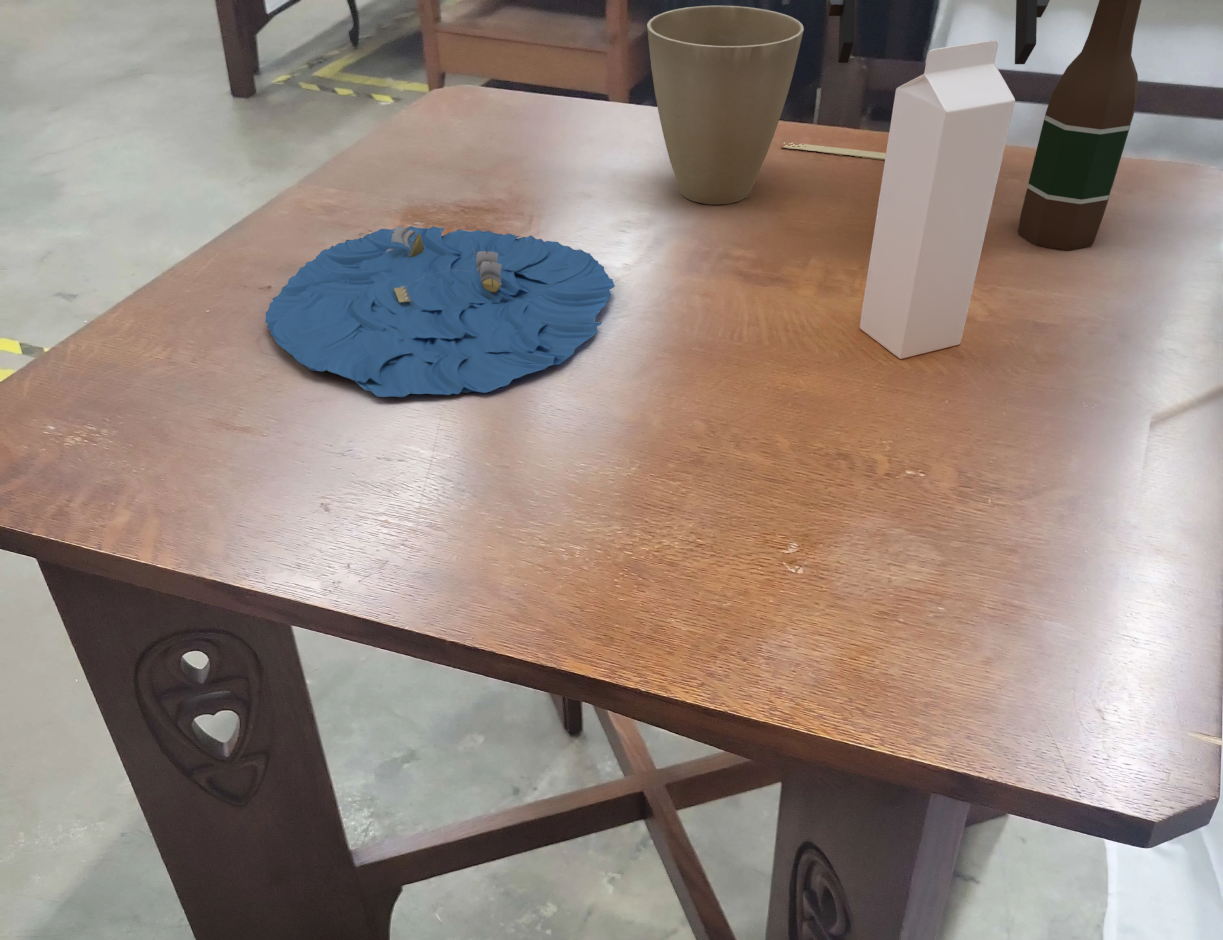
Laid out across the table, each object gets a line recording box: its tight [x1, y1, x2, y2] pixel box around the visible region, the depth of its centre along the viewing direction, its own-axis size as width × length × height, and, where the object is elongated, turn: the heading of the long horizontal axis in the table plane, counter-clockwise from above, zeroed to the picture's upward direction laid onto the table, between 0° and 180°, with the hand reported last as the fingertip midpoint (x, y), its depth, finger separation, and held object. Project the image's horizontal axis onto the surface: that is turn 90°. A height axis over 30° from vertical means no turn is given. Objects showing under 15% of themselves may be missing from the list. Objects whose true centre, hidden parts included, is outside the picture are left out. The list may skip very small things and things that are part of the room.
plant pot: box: [646, 5, 805, 206], centre depth 107 cm, size 15×15×16 cm
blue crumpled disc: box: [264, 225, 616, 398], centre depth 91 cm, size 30×30×5 cm
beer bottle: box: [1017, 0, 1142, 251], centre depth 95 cm, size 8×8×24 cm
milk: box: [859, 39, 1016, 360], centre depth 81 cm, size 6×6×22 cm
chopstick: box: [783, 142, 886, 161], centre depth 119 cm, size 24×2×1 cm, turn 69°
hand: (935, 54), depth 82 cm, fingers open, 13 cm apart
